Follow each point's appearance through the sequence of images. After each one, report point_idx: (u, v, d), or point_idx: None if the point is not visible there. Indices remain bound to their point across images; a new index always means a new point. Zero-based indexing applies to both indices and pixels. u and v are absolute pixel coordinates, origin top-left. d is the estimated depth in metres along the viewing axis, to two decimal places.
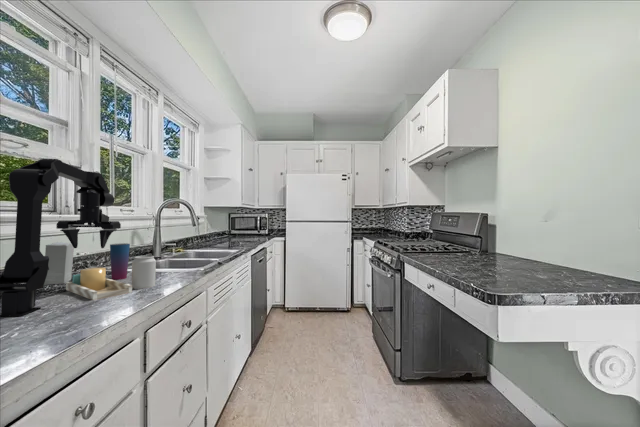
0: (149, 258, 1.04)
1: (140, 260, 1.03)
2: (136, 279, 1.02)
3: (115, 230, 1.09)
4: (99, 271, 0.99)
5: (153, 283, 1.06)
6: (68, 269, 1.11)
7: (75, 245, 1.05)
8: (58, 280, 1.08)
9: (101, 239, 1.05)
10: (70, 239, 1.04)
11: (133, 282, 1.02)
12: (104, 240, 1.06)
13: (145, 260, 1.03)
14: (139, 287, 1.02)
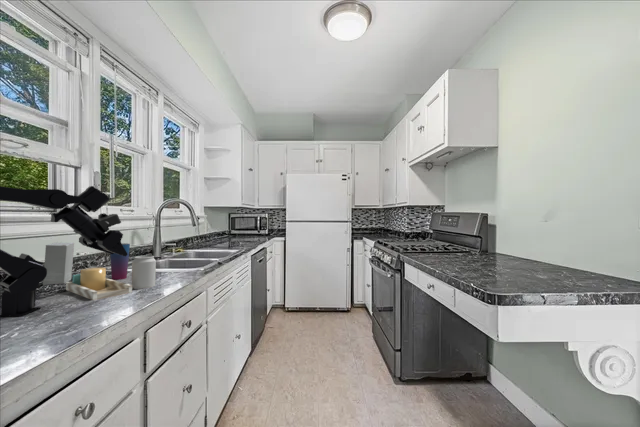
0: (149, 258, 1.04)
1: (140, 260, 1.03)
2: (136, 279, 1.02)
3: (120, 239, 0.92)
4: (99, 271, 0.99)
5: (153, 283, 1.06)
6: (68, 269, 1.11)
7: (110, 252, 1.00)
8: (58, 280, 1.08)
9: None
10: (100, 250, 0.99)
11: (133, 282, 1.02)
12: (118, 252, 0.94)
13: (145, 260, 1.03)
14: (139, 287, 1.02)
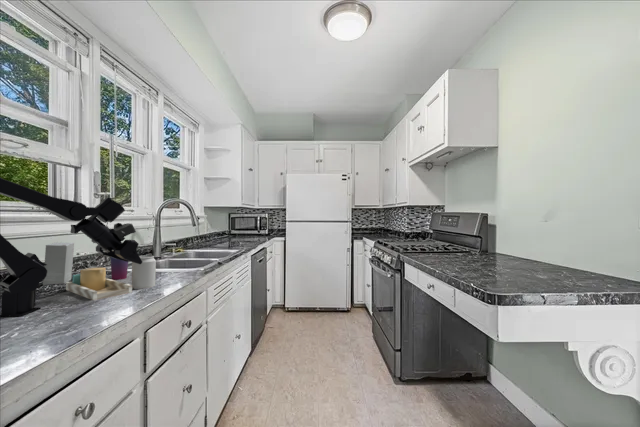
0: (149, 258, 1.04)
1: None
2: (136, 279, 1.02)
3: (135, 248, 0.96)
4: (99, 271, 0.99)
5: (153, 283, 1.06)
6: (68, 269, 1.11)
7: (125, 259, 1.04)
8: (58, 280, 1.08)
9: (131, 261, 0.97)
10: (116, 258, 1.03)
11: (133, 282, 1.02)
12: (134, 260, 0.98)
13: (145, 260, 1.03)
14: (139, 287, 1.02)
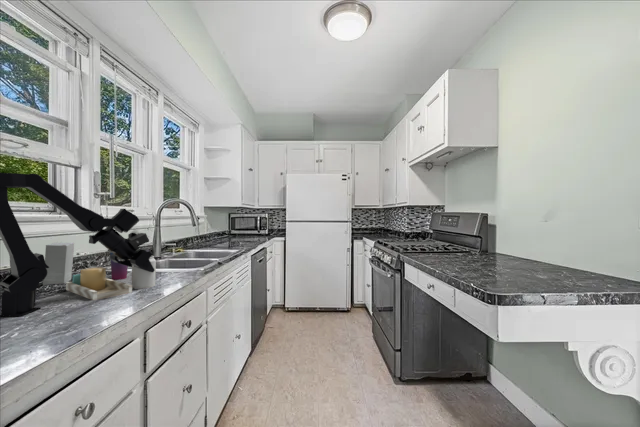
0: (149, 258, 1.04)
1: None
2: (136, 279, 1.02)
3: None
4: (99, 271, 0.99)
5: (153, 283, 1.06)
6: (68, 269, 1.11)
7: None
8: (58, 280, 1.08)
9: (144, 269, 1.02)
10: None
11: (133, 282, 1.02)
12: (147, 268, 1.02)
13: None
14: (139, 287, 1.02)
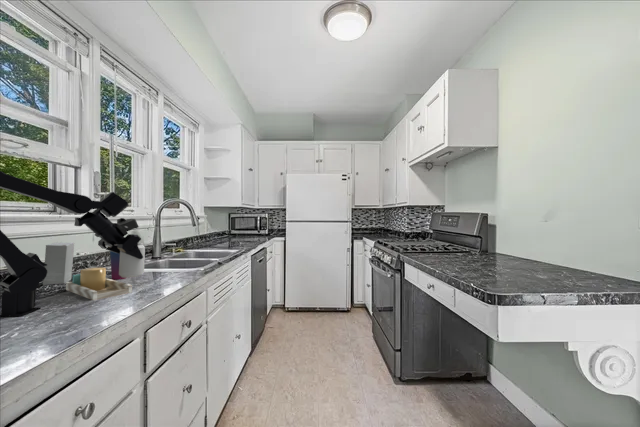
0: (138, 244, 1.01)
1: None
2: (123, 266, 0.99)
3: (137, 243, 0.97)
4: (99, 271, 0.99)
5: (142, 270, 1.02)
6: (68, 269, 1.11)
7: None
8: (58, 280, 1.08)
9: None
10: (119, 253, 1.03)
11: (120, 269, 0.99)
12: (135, 254, 0.98)
13: None
14: (126, 274, 0.99)
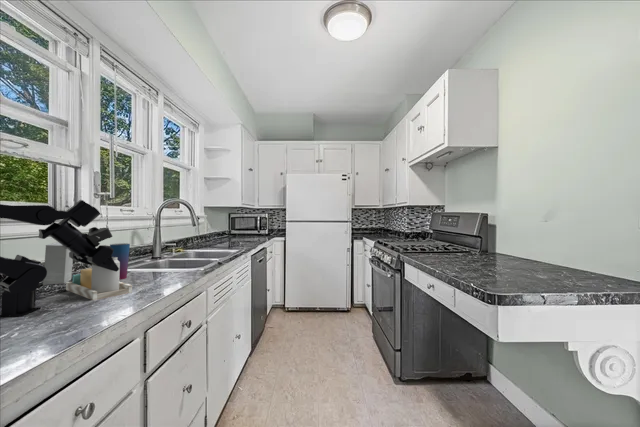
0: None
1: None
2: (95, 283, 0.92)
3: (110, 254, 0.90)
4: None
5: (116, 287, 0.95)
6: (68, 269, 1.11)
7: None
8: (58, 280, 1.08)
9: (106, 268, 0.91)
10: None
11: (92, 286, 0.92)
12: (109, 267, 0.91)
13: None
14: (99, 292, 0.92)
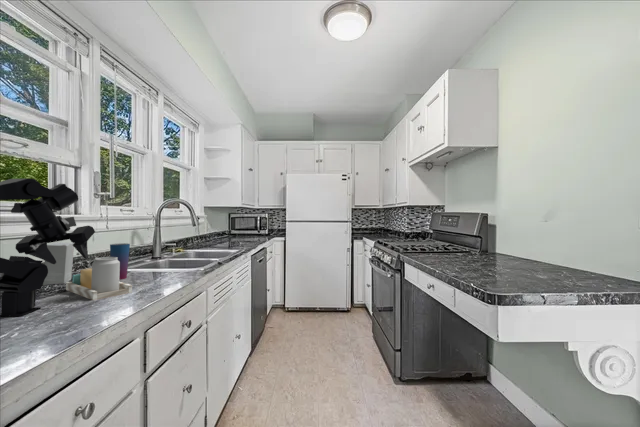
0: (111, 260, 0.94)
1: (100, 262, 0.92)
2: (95, 283, 0.92)
3: None
4: None
5: (116, 287, 0.95)
6: (68, 269, 1.11)
7: (53, 261, 0.90)
8: (58, 280, 1.08)
9: (80, 252, 0.89)
10: (43, 258, 0.87)
11: (92, 286, 0.92)
12: (84, 251, 0.90)
13: (106, 262, 0.93)
14: (99, 292, 0.92)
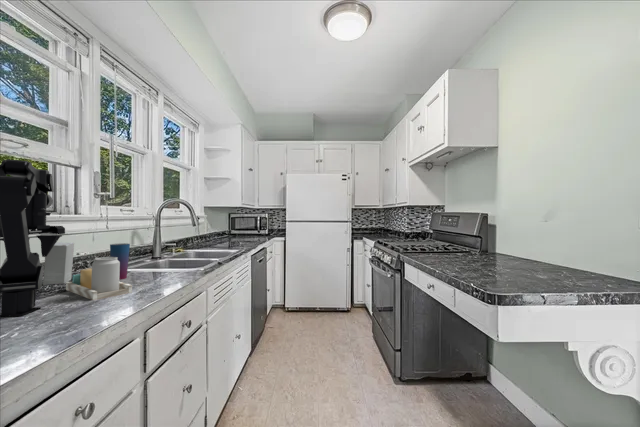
0: (111, 260, 0.94)
1: (100, 262, 0.92)
2: (95, 283, 0.92)
3: None
4: None
5: (116, 287, 0.95)
6: (68, 269, 1.11)
7: None
8: (58, 280, 1.08)
9: (51, 246, 0.95)
10: None
11: (92, 286, 0.92)
12: None
13: (106, 262, 0.93)
14: (99, 292, 0.92)
